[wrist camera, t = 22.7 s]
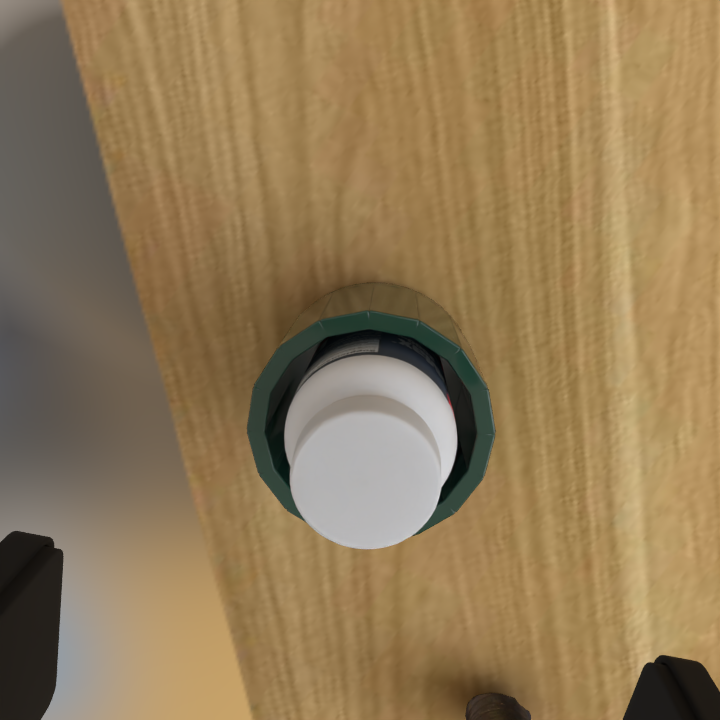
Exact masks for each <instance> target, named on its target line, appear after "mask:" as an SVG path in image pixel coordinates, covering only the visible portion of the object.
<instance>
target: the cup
mask: <svg viewBox="0 0 720 720" xmlns="http://www.w3.org/2000/svg"><path fill="white" fill-rule="evenodd" d="M368 329H370V330H375V331H381V332H386V333H391V334H396V335H401V336H406V337H411V338H413V339H415V340H416V341H418V342H419V343H421V344H422V345H424V346H425V347H427V348H428V349H430V350H432V351H433V352H435V353H436V354H438V356H439V358H440V360H441V364H442V367H443V370H444V374H445V378H446V384H447V389H448V392H449V397H450V401H451V405H452V408H453V412H454V417H455V422H456V429H457V450H456V456H455V460H454V464H453V467H452V469H451V472H450V474H449V476H448V478H447V480H446V481H445V483H444V484H443V486H442V487H441V492H440V497H439V500H438V503H437V506H436V508H435V510H434V512H433V513H432V516H431V517H430V518H429V520H428V521H427V522H426V523H425V524H424V525H423V527H422V528H421V529H420V530H418V531H417V532H416V533H415V534H414V535H412V536H415V535H418V534H420V533H421V532H423V531H425V530H427V529H428V528H430V527H432V526H434V525H435V524H437V523H439V522H441V521H443V520H444V519H446V518H448V517H450V516H451V515H453V514H454V513H455V512H457V511H458V510H459V508H460V507H461V506H462V505H463V503H464V502H465V501H466V500H467V498H468V497H469V496H470V495H471V493H472V492H473V491H474V490H475V488H476V487H477V486H478V485H479V483H480V482H481V481H482V480H483V477H484V476H485V473H486V469H487V465H488V461H489V458H490V454H491V450H492V447H493V443H494V439H495V432H496V430H495V424H494V418H493V412H492V406H491V400H490V394H489V389H488V387H487V384H486V382H485V379H484V377H483V374H482V372H481V370H480V367H479V365H478V362H477V360H476V358H475V355H474V353H473V351H472V348H471V346H470V344H469V343H468V341H467V340H466V338H465V337H464V335H463V333H462V331H461V329H460V328H459V326H458V325H457V324H456V322H455V321H454V320H453V318H452V317H451V316H450V315H449V314H448V313H447V312H446V311H445V310H444V309H443V308H442V307H441V306H439V305H438V304H437V303H436V302H434V301H433V300H432V299H430V298H428V297H426V296H425V295H423V294H421V293H419V292H417V291H414V290H412V289H409V288H406V287H403V286H399V285H395V284H388V283H362V284H355V285H351V286H347V287H344V288H341V289H338V290H336V291H333V292H331V293H329V294H327V295H326V296H324V297H322V298H320V299H319V300H317V301H316V302H315V303H314V304H312V305H311V306H310V307H308V308H307V309H306V310H305V311H304V312H302V313H301V315H299V316H298V318H297V319H296V321H295V322H294V324H293V325H292V327H291V328H290V330H289V331H288V333H287V334H286V336H285V337H284V339H283V341H282V342H281V344H280V345H279V347H278V348H277V350H276V351H275V353H274V354H273V356H272V357H271V359H270V361H269V362H268V364H267V365H266V367H265V368H264V370H263V371H262V373H261V375H260V376H259V378H258V379H257V381H256V382H255V384H254V387H253V391H252V398H251V404H250V411H249V418H248V424H247V434H248V438H249V441H250V445H251V449H252V452H253V456H254V460H255V463H256V467H257V471H258V473H259V475H260V477H261V478H262V479H263V481H264V482H265V483H266V485H267V486H268V487H269V488H270V490H271V491H272V492H273V494H274V495H275V496H276V497H277V499H278V500H279V501H280V503H281V504H282V505H283V506H284V508H285V509H287V511H288V512H290V513H292V514H293V515H295V516H297V517H298V518H300V519H302V520H303V521H305V520H304V518H303V517H302V515H301V514H300V512H299V511H298V509H297V507H296V505H295V502H294V499H293V497H292V493H291V487H290V464H289V462H288V459H287V455H286V451H285V442H284V432H285V423H286V418H287V414H288V410H289V407H290V403H291V401H292V399H293V397H294V395H295V393H296V391H297V388H298V386H299V384H300V382H301V379H302V377H303V375H304V373H305V371H306V369H307V367H308V365H309V363H310V361H311V359H312V357H313V355H314V353H315V352H316V350H317V348H318V347H319V346H320V344H321V343H322V342H323V340H324V339H326V338H327V337H331V336H337V335H342V334H347V333H352V332H358V331H363V330H368ZM305 522H306V521H305Z"/></svg>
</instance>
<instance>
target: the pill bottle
mask: <svg viewBox="0 0 720 720" xmlns="http://www.w3.org/2000/svg"><path fill="white" fill-rule="evenodd" d="M284 442H285V451H286V455H287V459H288V462H289V464H290V487H291V493H292V497H293V499H294V502H295V505H296V507H297V509H298V511H299V512H300V514H301V515H302V517H303V518H304V520H305V521H306V522H307V523H308V524H309V525H310V526H311V527H312V528H313V529H314V530H315V531H316V532H318V533H319V534H320V535H322V536H323V537H325V538H327V539H329V540H331V541H332V542H335V543H337V544H339V545H343V546H347V547H351V548H357V549H378V548H383V547H388V546H391V545H394V544H397V543H400V542H402V541H403V540H405V539H407V538H409V537H411V536H412V535H414V534H415V533H416V532H417V531H418V530H420V529H421V528H422V527H423V525H424V524H425V523H426V522H427V521H428V520H429V518H430V517H431V516H432V513H433V512H434V510H435V508H436V506H437V503H438V500H439V497H440V492H441V487H442V486H443V484H444V483H445V481H446V480H447V478H448V476H449V474H450V472H451V469H452V467H453V464H454V460H455V456H456V450H457V429H456V422H455V417H454V412H453V408H452V405H451V401H450V397H449V392H448V389H447V384H446V378H445V374H444V370H443V367H442V364H441V360H440V358H439V356H438V354H436V353H435V352H433V351H432V350H430V349H428V348H427V347H425V346H424V345H422V344H421V343H419V342H418V341H416V340H415V339H413V338H411V337H406V336H401V335H396V334H391V333H386V332H381V331H375V330H370V329H368V330H363V331H358V332H352V333H347V334H342V335H337V336H331V337H327V338H326V339H324V340H323V342H322V343H321V344H320V346H319V347H318V348H317V350H316V352H315V353H314V355H313V357H312V359H311V361H310V363H309V365H308V367H307V369H306V371H305V373H304V375H303V377H302V379H301V382H300V384H299V386H298V388H297V391H296V393H295V395H294V397H293V399H292V401H291V403H290V407H289V410H288V414H287V418H286V423H285V432H284Z"/></svg>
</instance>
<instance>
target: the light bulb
mask: <svg viewBox="0 0 720 720" xmlns="http://www.w3.org/2000/svg"><path fill="white" fill-rule="evenodd" d="M465 716H466V720H531V715H530V713H529V711H528V710H526V709H525V708H523V707H522V706H521V705H520V704H519V703H518V702H517V701H516V699H515V698H513V697H510V696H507V695H503V694H497V693H489V694H482V695H478V696H475V697H473V698H472V699H471V700H470V701H469V703H468V705H467V708H466V715H465Z"/></svg>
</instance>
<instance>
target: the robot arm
mask: <svg viewBox="0 0 720 720" xmlns="http://www.w3.org/2000/svg"><path fill="white" fill-rule="evenodd" d="M62 573H63V552H62V550H61V549H57V548H54V542H53V539H52V538H50V537H45V536H40V535H36V534H30V533H25V532H20V531H14V532H11V533H10V534H9V535H7V536H6V537H5V538H4V539H3V540H2V541H1V542H0V720H41V718H42V717H43V715H44V713H45V712H46V710H47V708H48V707H49V705H50V702H51V700H52V697H53V694H54V691H55V687H56V677H57V659H58V643H59V624H60V607H61V590H62ZM623 720H720V692H719V690H718V688H717V687H716V685H715V683H714V682H713V680H712V678H711V677H710V675H709V673H708V672H707V670H706V669H705V667H704V666H703V665H702V664H701V663H699V662H697V661H692V660H687V659H682V658H677V657H671V656H666V655H661V656H659V657H658V658H656V660H655V662H654V663H651V662H650V663H647V664H646V665H645V666H644V668H643V670H642V672H641V675H640V677H639V680H638V682H637V685H636V687H635V690H634V693H633V695H632V698H631V700H630V703H629V705H628V708H627V710H626V713H625V715H624V718H623Z"/></svg>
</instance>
